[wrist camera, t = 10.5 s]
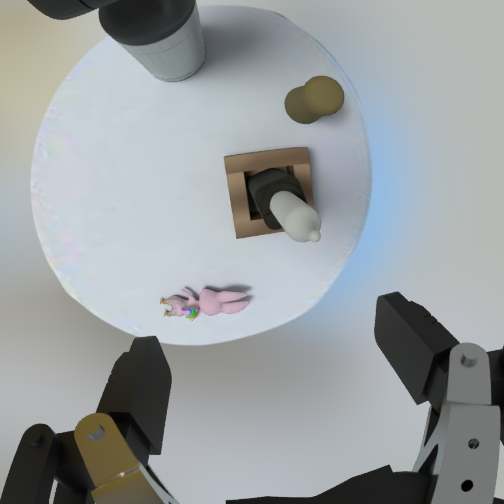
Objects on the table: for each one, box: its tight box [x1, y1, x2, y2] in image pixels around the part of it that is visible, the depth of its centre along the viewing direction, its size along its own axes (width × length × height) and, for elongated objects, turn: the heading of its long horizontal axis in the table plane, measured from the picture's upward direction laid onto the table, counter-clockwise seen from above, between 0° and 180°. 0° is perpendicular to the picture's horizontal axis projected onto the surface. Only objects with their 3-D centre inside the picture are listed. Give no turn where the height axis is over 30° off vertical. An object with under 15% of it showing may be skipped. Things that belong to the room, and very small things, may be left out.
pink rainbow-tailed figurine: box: [160, 288, 249, 321], centre depth 47 cm, size 6×6×15 cm
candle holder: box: [224, 147, 314, 239], centre depth 41 cm, size 11×11×6 cm
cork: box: [285, 76, 344, 124], centre depth 35 cm, size 6×6×11 cm
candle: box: [247, 168, 321, 242], centre depth 31 cm, size 5×5×25 cm
